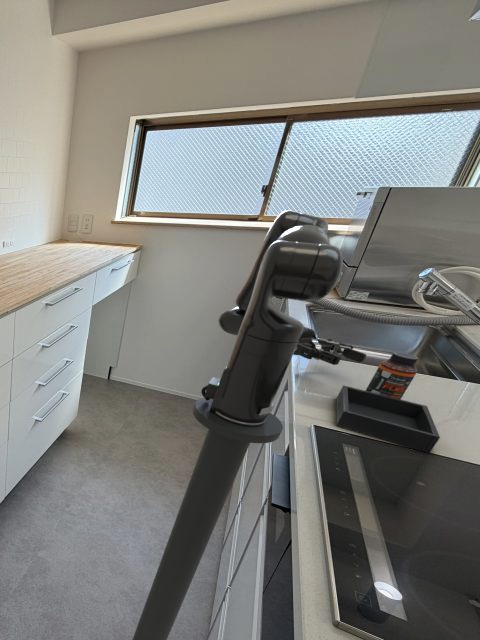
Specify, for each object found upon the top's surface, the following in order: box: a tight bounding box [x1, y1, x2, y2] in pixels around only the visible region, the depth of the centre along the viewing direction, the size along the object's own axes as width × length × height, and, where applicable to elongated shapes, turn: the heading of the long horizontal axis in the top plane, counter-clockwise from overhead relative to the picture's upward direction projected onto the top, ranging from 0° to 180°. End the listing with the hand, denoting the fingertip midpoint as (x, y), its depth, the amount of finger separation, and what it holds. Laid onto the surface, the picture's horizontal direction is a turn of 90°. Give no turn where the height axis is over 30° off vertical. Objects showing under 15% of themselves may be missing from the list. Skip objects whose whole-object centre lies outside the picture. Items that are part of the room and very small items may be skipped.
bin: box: [335, 384, 441, 454], centre depth 84 cm, size 14×16×4 cm
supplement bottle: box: [365, 351, 419, 400], centre depth 91 cm, size 6×6×11 cm
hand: (351, 359), depth 99 cm, fingers open, 8 cm apart
